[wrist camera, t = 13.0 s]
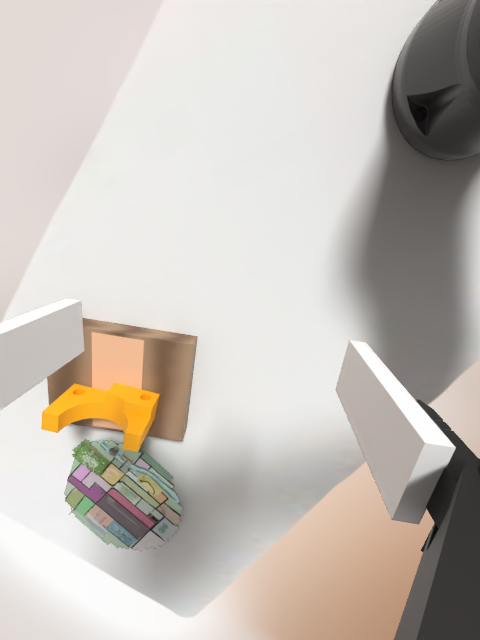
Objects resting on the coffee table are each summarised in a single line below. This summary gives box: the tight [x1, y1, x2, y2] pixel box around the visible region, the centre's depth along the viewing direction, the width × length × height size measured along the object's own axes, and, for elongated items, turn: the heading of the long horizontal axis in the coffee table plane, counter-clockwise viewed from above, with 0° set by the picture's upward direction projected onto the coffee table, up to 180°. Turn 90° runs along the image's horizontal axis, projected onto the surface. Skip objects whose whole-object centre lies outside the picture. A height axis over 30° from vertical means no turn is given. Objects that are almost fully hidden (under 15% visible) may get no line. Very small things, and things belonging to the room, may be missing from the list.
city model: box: [64, 439, 184, 551], centre depth 48 cm, size 25×23×6 cm
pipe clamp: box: [42, 383, 160, 452], centre depth 37 cm, size 12×4×6 cm, turn 75°
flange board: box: [47, 318, 197, 441], centre depth 41 cm, size 20×16×3 cm
